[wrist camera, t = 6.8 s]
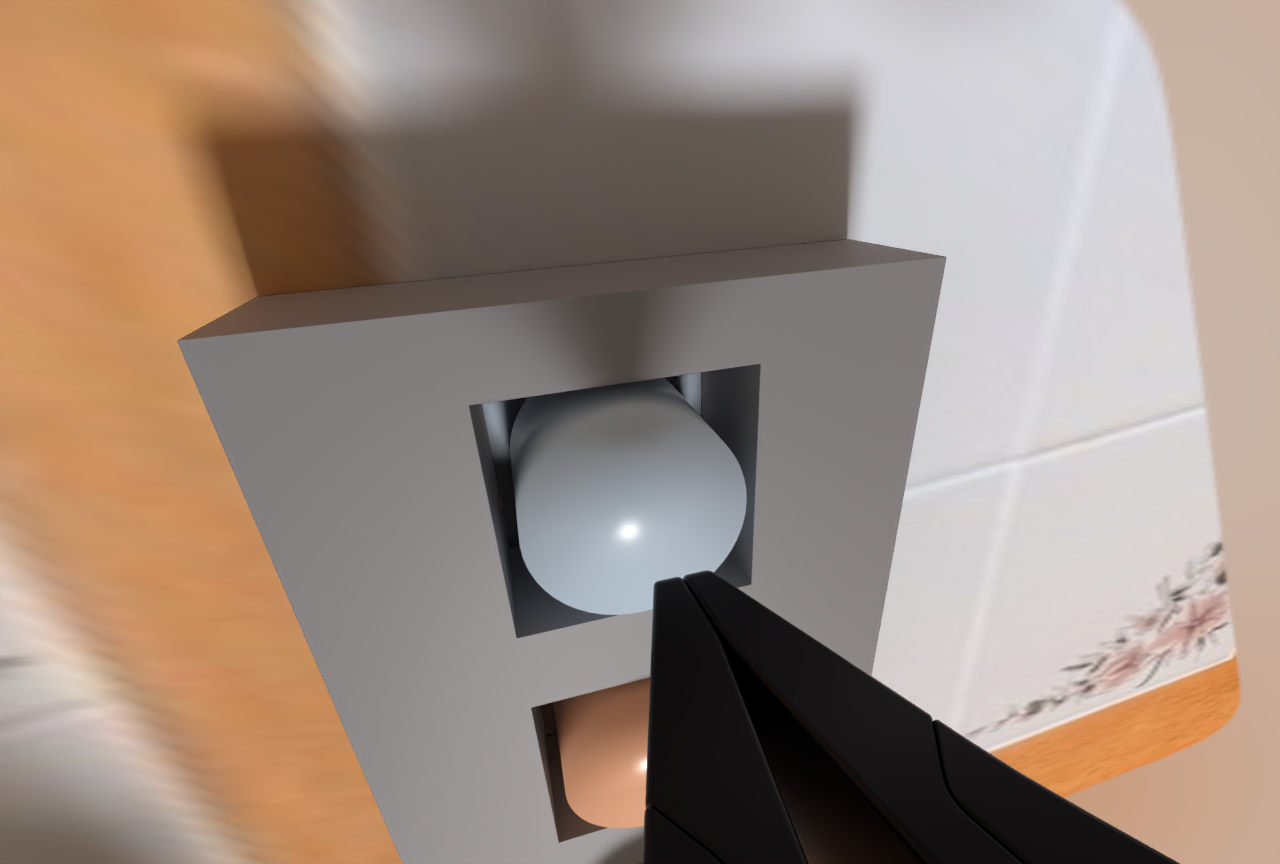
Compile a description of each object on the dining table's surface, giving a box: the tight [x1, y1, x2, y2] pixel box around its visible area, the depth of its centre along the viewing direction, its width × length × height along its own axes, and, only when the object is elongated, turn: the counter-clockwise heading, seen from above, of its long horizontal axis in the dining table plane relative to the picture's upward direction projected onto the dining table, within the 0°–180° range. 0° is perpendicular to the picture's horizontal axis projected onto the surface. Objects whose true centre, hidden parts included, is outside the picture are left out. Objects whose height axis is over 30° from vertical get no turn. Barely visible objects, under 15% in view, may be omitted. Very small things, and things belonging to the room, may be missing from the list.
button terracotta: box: [553, 677, 650, 828], centre depth 14 cm, size 4×4×3 cm
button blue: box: [510, 377, 747, 615], centre depth 11 cm, size 4×4×3 cm
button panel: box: [177, 239, 946, 864], centre depth 15 cm, size 22×12×3 cm, turn 4°
